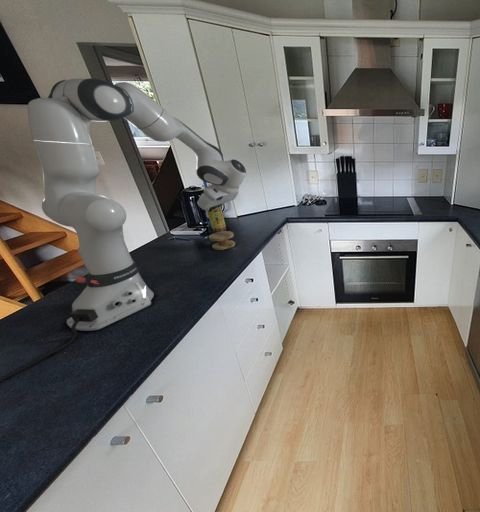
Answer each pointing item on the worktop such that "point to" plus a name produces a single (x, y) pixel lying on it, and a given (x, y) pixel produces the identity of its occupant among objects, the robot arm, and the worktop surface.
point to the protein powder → (208, 217)
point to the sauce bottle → (216, 219)
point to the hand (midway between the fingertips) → (212, 208)
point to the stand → (222, 240)
